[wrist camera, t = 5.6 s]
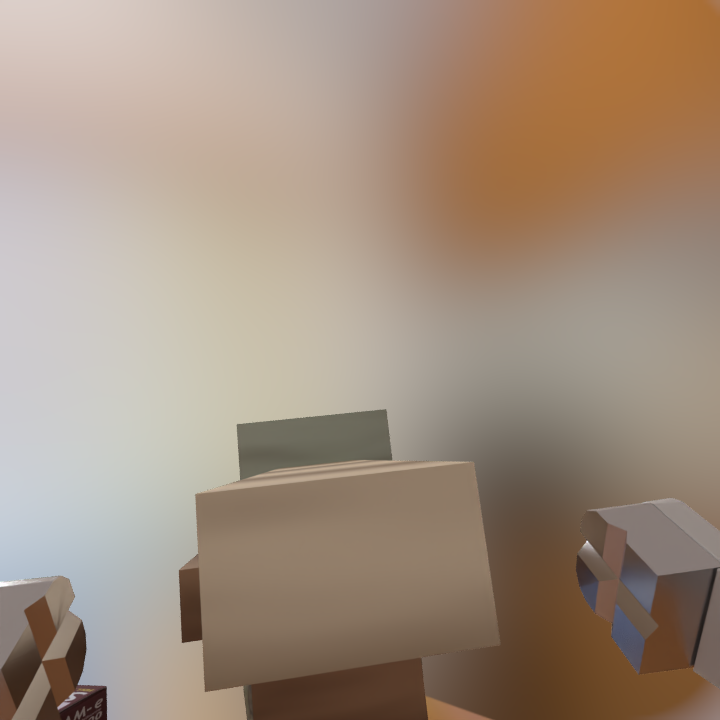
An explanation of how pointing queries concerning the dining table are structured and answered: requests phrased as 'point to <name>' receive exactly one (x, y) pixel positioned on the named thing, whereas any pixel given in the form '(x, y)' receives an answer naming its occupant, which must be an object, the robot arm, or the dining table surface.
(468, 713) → the dining table surface
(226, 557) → the mallet
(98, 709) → the supplement box
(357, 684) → the walnut shelf
